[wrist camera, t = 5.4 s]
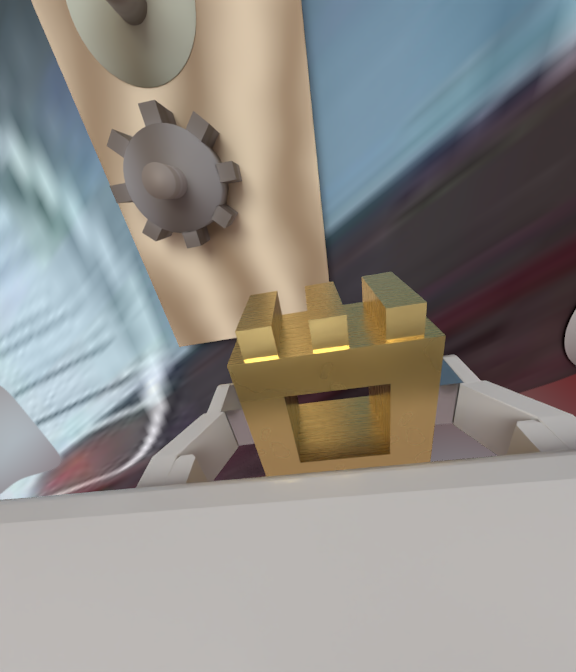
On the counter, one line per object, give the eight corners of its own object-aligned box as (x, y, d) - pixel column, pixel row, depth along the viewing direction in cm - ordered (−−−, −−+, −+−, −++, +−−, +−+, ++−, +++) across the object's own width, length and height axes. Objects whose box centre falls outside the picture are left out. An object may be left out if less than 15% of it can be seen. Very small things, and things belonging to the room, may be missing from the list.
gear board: (280, -169, 13) (277, -442, 8) (330, 315, 26) (343, 350, 20) (8, -89, 14) (-175, -277, 9) (184, 339, 27) (157, 378, 21)
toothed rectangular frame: (405, 268, 9) (449, 300, 6) (399, 429, 13) (426, 490, 10) (237, 296, 10) (216, 336, 7) (279, 442, 14) (275, 503, 11)
